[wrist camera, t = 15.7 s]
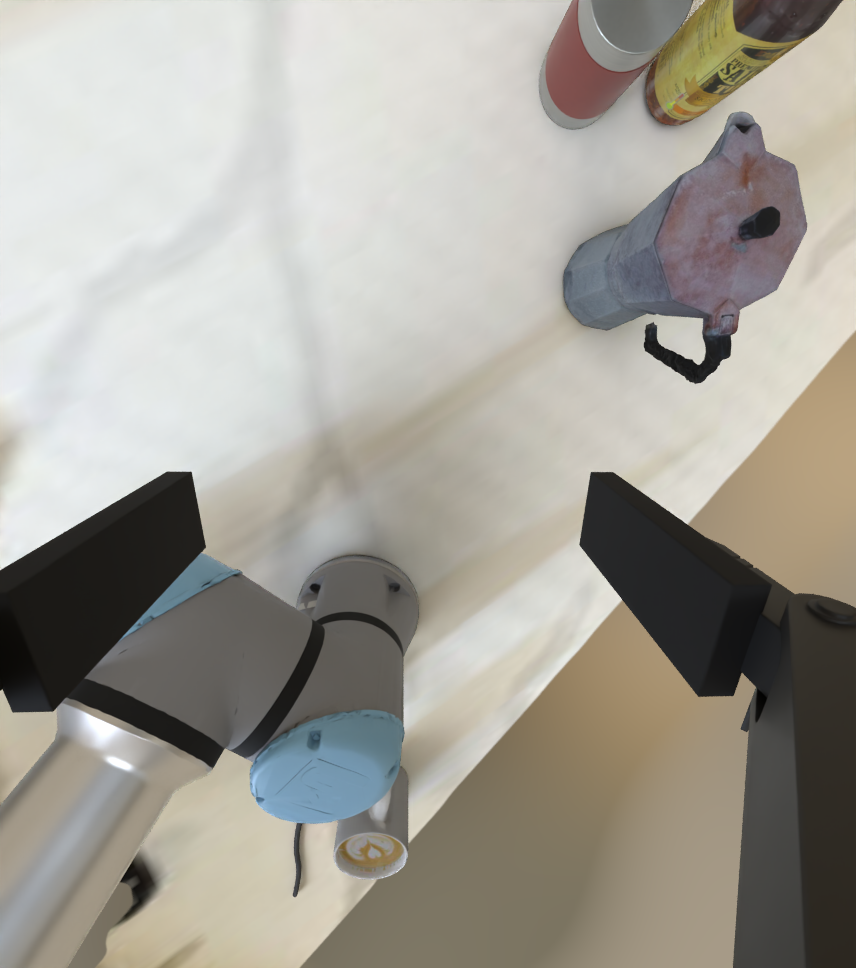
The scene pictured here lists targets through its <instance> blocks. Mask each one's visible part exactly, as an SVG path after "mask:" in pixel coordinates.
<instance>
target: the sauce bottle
mask: <svg viewBox="0 0 856 968" xmlns="http://www.w3.org/2000/svg"><path fill="white" fill-rule="evenodd" d="M842 1H843V0H706V1H705V2H704V3H703V4H702V5H701V6H700V7H699V8H698V9H697V10H696V11H695V13H694V14H693V15H692V16H691V17H690V18H689V19H688V20H687V21H686V22H685V23H684V25H683V26H682V27H681V28H680V29H679V30H678V31H677V32H676V33H675V35H674V36H673V37H672V38H671V39H670V40H669V41H668V43H667V44H666V45H665V47H664V48H663V50H662V51H661V53H660V54H659V55H658V57H657V58H656V60H655V62H654V64H653V65H652V68H651V69H650V72H649V75H648V78H647V84H646V99H647V103H648V107H649V109H650V111H651V113H652V115H653V116H654V117H655V118H656V119H657V120H658V121H660V122H661V123H664V124H668V125H678V124H679V125H680V124H683V123H685V122H688V121H691V120H692V119H694V118H696V117H698V116H700V115H702V114H703V113H705V112H706V111H707V110H709V109H710V108H712V107H713V106H714V105H716V104H717V103H719V102H720V101H721V100H723V99H724V98H725V97H727V96H728V95H730V94H731V93H732V92H734V91H735V90H736V89H738V88H739V87H740V86H742V85H743V84H745V83H746V82H747V81H749V80H750V79H751V78H753V77H754V76H756V75H757V74H758V73H760V72H761V71H763V70H764V69H765V68H767V67H768V66H769V65H771V64H772V63H773V62H775V61H776V60H778V59H779V58H780V57H782V56H783V55H784V54H786V53H787V52H788V51H790V50H791V49H793V48H794V47H795V46H797V45H798V44H800V43H801V42H802V41H804V40H805V39H806V38H808V37H809V36H810V35H812V34H813V33H814V32H816V31H817V30H818V29H819V28H821V27H822V26H823V25H824V23H825V22H826V21H827V20H828V18H829V17H830V16H831V15H832V13H833V12H834V11H835V10H836V8H837V7H838V6H839V4H840V3H841V2H842Z"/></svg>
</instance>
